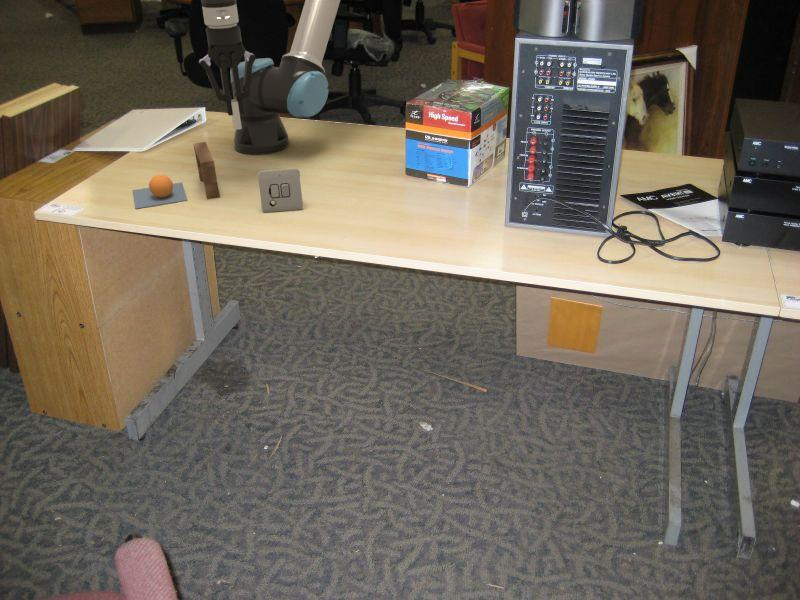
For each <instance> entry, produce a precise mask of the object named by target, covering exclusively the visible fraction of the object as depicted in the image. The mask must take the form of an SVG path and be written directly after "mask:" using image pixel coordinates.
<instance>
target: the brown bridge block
mask: <svg viewBox="0 0 800 600" xmlns="http://www.w3.org/2000/svg"><path fill="white" fill-rule="evenodd" d="M192 144H193V148H194V156H195V160H196V165H197V173H198V175H199V176H198V177H199V180H200V182H203V186H204V191H205V196H206V199H207V200H213V199H219V198H221V195H220V190H219V189H220V188H219V184H218V183H219V181H218V178H217V171H216V166H215V160H214V158H213V155H212V153H211V151H210V149H209V147H208V143H207V142H206V141H202V142H196V143H192Z"/></svg>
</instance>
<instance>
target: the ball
mask: <svg viewBox="0 0 800 600" xmlns="http://www.w3.org/2000/svg"><path fill="white" fill-rule="evenodd" d="M173 184H174V183H173V181H172V180H171V178H170V177H169V176H167V175H165V174H156V175H155V176H152V178H151V179H150V181H149V183H148V188H149V189H150V191H151V193H152V194H153V195H154V196H156V197H159V198H164V197H167V196H169V195H170V194H171V192H172V190H173Z"/></svg>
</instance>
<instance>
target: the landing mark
mask: <svg viewBox="0 0 800 600" xmlns="http://www.w3.org/2000/svg"><path fill="white" fill-rule="evenodd" d="M131 192H132V197H133V203H134V209H135V210H140V209H146V208H152V207H158V206H164V205H169V204H175V203H176V204H178V203H181V202H187V201H188V198H187V194H186V191H185V187H184V185H183V182H177V183H173V190H172V192H171V194H170V195H169V196H167V197H164V198H159V197H156V196H154V195H153V194H152V193H151V191H150V189H149V187H144V188H139V189H132V191H131Z"/></svg>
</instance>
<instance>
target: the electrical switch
mask: <svg viewBox="0 0 800 600" xmlns="http://www.w3.org/2000/svg"><path fill="white" fill-rule="evenodd" d="M257 177H258V186H259V194H260V195H259V196H260V203H261V210H262V212H264V213H271V212H272V213H273V212H284V211H295V210H296V211H297V210H298V211H300V210H302V208H303V207H304V204H303V202H304V201H303V197H302V196H303V194H302V187H301V172H300V170H299V168H295V167H294V168H283V169H281V168H280V169H270V170H269V169H268V170H260V171H258V173H257ZM272 202H274V204H273V203H272Z"/></svg>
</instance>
